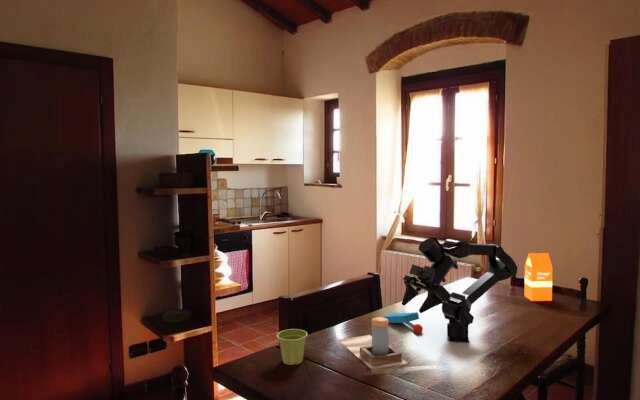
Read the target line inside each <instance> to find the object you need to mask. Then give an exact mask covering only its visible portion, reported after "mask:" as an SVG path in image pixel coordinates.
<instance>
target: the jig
mask: <svg viewBox="0 0 640 400" xmlns="http://www.w3.org/2000/svg"><path fill="white" fill-rule="evenodd" d="M337 341H338V342H340V343H341V344H342V345H343V346H344V347H345V348H346V349H348V350H349V352H351V353H352V354H353V355H355V357H357V358H358V359H359V360H360V361H361V362H363V363H364V364H365V365H366V366H367V367H368V368H370V369H369V370H368V371H369V372H370V373H371V374H375V373H380V372H386V371H391V370H397V369H404V366H402V365H407V364H409V362H407V360H405V359H404V358H402V357H403V354H402V352H400V351H399V350H398V349H396V348H395V347H393V346H392V345H390V344H389V354H386V355H380V356H374V355H373V354H372V334H366V335H360V336H353V337H346V338H340V339H337ZM397 366H398V367H397ZM407 367H409V366H407Z"/></svg>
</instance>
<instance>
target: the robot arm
mask: <svg viewBox="0 0 640 400" xmlns="http://www.w3.org/2000/svg"><path fill="white" fill-rule="evenodd" d="M418 251H419V252H420V253H421V254H422V255H423V256H424V257H425V259H426V260H427V261H428V262H430V263H432V264H431V265H430V266H427V265H424V266H423V267H422V266H419V265H416V264H411V267H410V270H409V274H405V275H404V277H403V278H402V281H403V284H404V285H405V291H404V294H403V297H402V301H401V305H402V306H403V307H405V306H406V305H407V304H408V303H410V302H412V300H414V298H416V297H417V296H418V295H419V294H420V293H419V292H420V291H421V290H424V291H427V296H426V297H425V299H424V301H423V303H422V305H421V306H420V307H419V309H418V313H420V314H423V313H424V312H427V311H429V310H430V309H432V308H434V307H437V306H438V305H440V304H441V311H442V314H443V317H444V319H445V320H448V323H447V325H446V327H447V328H446V331H447V333H446V337H447V338H448V341H449V342H463V343H470V342H469V341H470V338H469V326H470V325H471V324H473V322H474V316H473V315H472V313H471V309H472V305H473V304H474V303H475V302H477V301H478V299H480V298H481V297H482V296H483V295H485V293H487V292H488V291H489V290H490V289H491V288H492V287H494V286H495V285H497V284H498V283H499V282H502V281H506V280H508V279H511V277H514V276H515V275H516V274H517V271H518V267H517V264H516V262H515V261H514V259H513V257H511V255H509V254H508V253H507V252H506V251H505V250H504V248H503V247H502V246H501V245H499V244H494V243H468V242H465V241H462V240H457V239H452V238H447V239H445V240H444V242H440V241H439V240H438V238H437V237H436V236H433V235H431V236H430V237H429V238H427V239H425V240H423V241H421V242H420V244H419V246H418ZM469 256H487V262H488V268H487V271H486V272H485V273H484V274H482V275H481V276H480V277H479V278H478V279H477V280H476V281H474V282H473V283H472V284H471V285H469V286H468V287H467V288H466V289H465V290H464V291H462V292H461V293H457V292H454V291H453V292H451V293H450V292H449V291H448V290H447V289H446V288H445V287H444V285H441V284H442V283H446V281H447V279H446V276H447V275H448V273H449V272H450V271H451V269H454V270H458V269H459V267H458V261H457V260H455V259H452V258H456V259H464V258H468V257H469Z"/></svg>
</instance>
